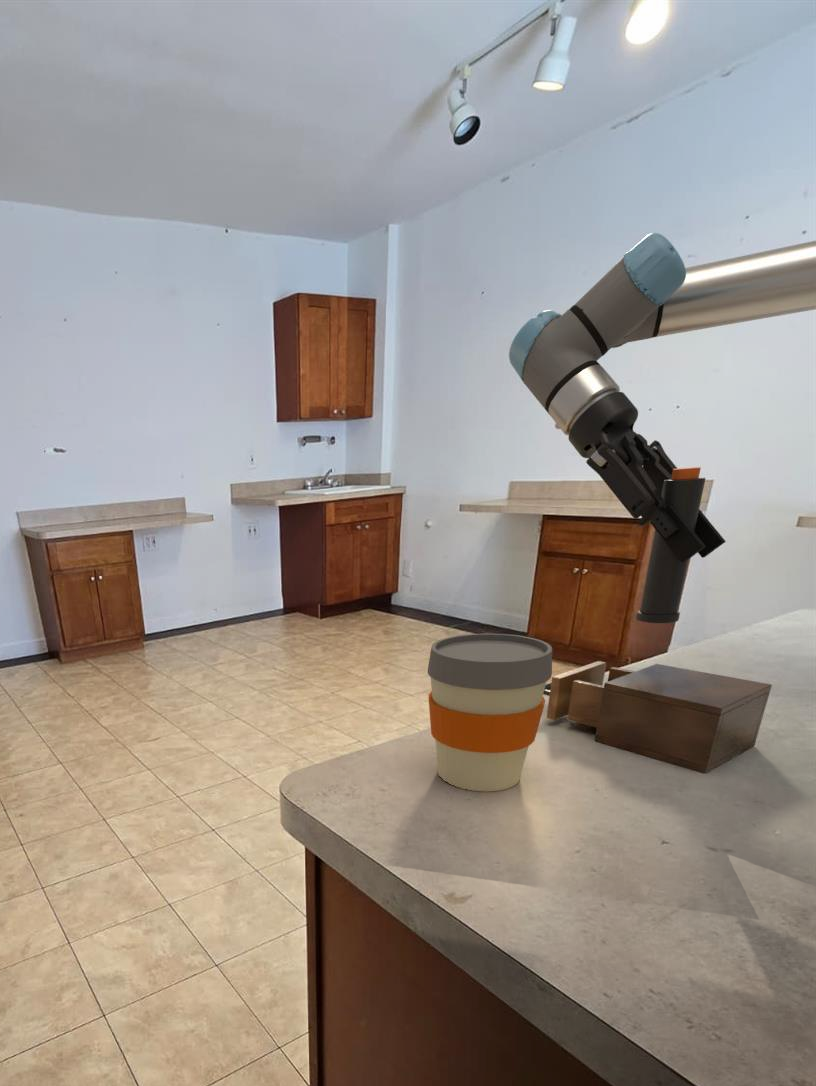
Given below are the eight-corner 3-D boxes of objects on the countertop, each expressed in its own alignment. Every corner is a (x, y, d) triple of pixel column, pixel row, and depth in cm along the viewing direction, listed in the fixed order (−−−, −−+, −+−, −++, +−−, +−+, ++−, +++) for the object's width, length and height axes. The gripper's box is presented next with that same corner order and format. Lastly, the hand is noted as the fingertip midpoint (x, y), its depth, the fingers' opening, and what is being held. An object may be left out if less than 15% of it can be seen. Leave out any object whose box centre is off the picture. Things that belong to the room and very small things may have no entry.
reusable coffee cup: (415, 792, 71) (421, 660, 65) (428, 748, 81) (435, 632, 75) (538, 805, 66) (558, 665, 60) (536, 757, 77) (552, 634, 70)
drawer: (520, 711, 88) (525, 670, 86) (565, 694, 93) (571, 655, 91) (633, 742, 76) (642, 696, 74) (678, 721, 81) (688, 678, 79)
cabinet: (594, 740, 80) (604, 682, 77) (644, 718, 85) (656, 663, 82) (705, 773, 70) (722, 708, 67) (754, 746, 75) (772, 684, 72)
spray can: (672, 615, 86) (703, 466, 78) (683, 623, 81) (717, 466, 74) (632, 615, 87) (658, 469, 79) (640, 623, 83) (669, 470, 75)
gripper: (607, 436, 91) (709, 564, 85) (532, 442, 83) (638, 583, 77) (653, 388, 84) (767, 522, 78) (576, 388, 76) (696, 537, 70)
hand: (703, 551), depth 78 cm, fingers closed on spray can, 4 cm apart
